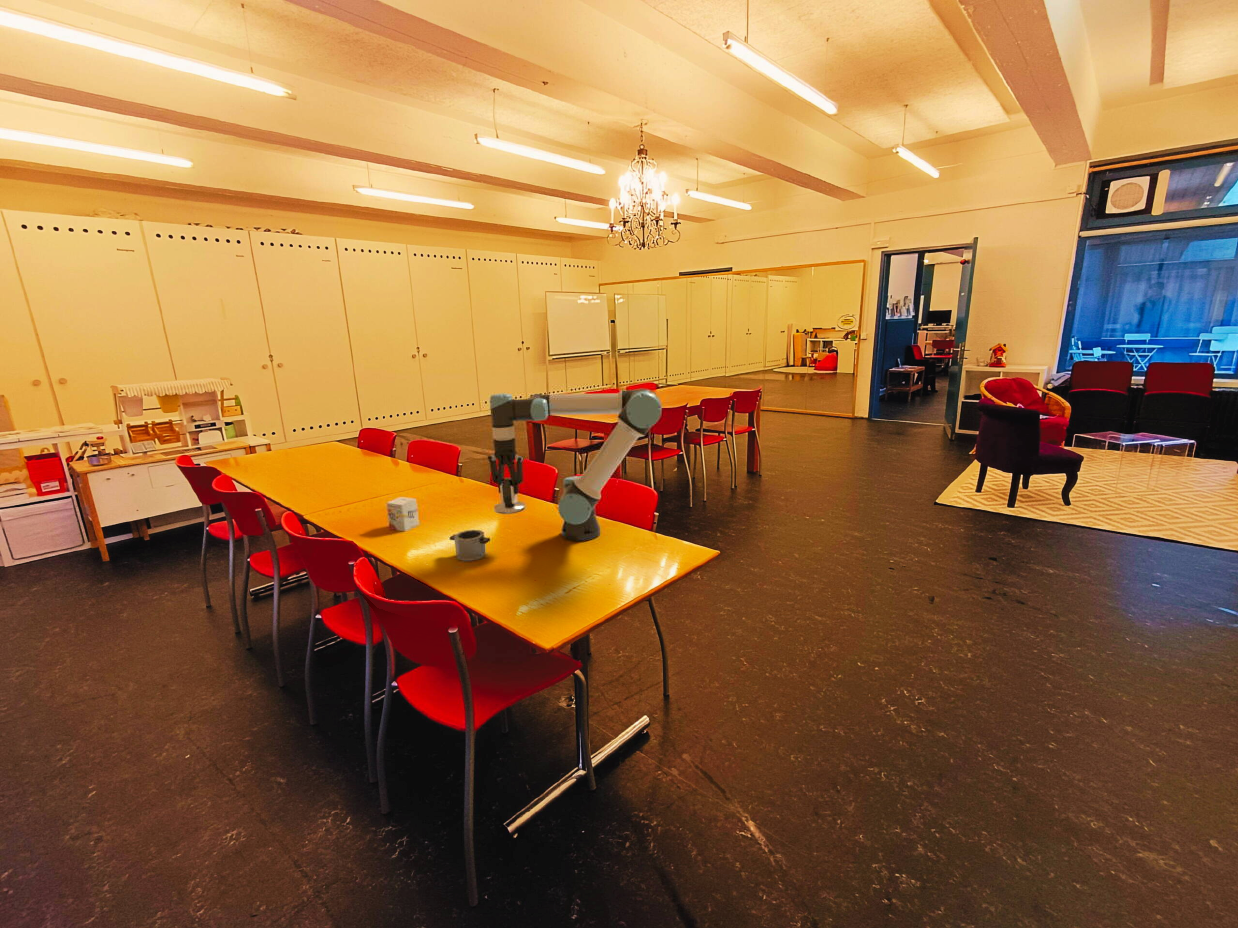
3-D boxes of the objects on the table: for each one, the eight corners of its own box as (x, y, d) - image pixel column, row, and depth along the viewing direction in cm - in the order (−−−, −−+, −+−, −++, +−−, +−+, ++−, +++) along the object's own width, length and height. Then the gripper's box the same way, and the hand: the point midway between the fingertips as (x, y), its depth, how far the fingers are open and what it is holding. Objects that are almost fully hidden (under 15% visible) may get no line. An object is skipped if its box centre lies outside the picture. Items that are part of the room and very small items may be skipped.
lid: (530, 505, 198) (528, 475, 195) (516, 514, 187) (513, 484, 185) (504, 503, 201) (502, 474, 198) (488, 512, 191) (485, 482, 188)
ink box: (388, 529, 222) (385, 502, 219) (404, 522, 229) (400, 496, 227) (405, 531, 218) (401, 504, 216) (420, 524, 226) (416, 498, 223)
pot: (496, 552, 194) (494, 531, 193) (481, 563, 185) (479, 541, 183) (462, 548, 199) (460, 528, 197) (445, 559, 190) (443, 537, 188)
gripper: (530, 436, 189) (535, 500, 194) (489, 435, 194) (494, 497, 200) (519, 441, 182) (525, 506, 188) (477, 439, 187) (483, 503, 193)
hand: (509, 501), depth 194 cm, fingers closed on lid, 4 cm apart
